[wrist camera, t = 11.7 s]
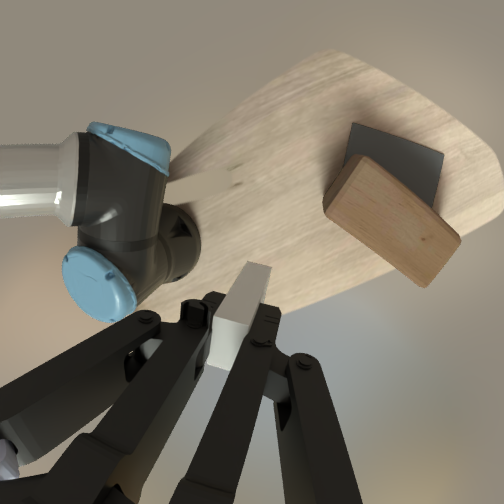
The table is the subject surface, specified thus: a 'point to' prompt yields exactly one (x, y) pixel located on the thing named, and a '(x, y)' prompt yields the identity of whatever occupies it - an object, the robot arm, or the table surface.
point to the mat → (399, 159)
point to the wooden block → (390, 219)
